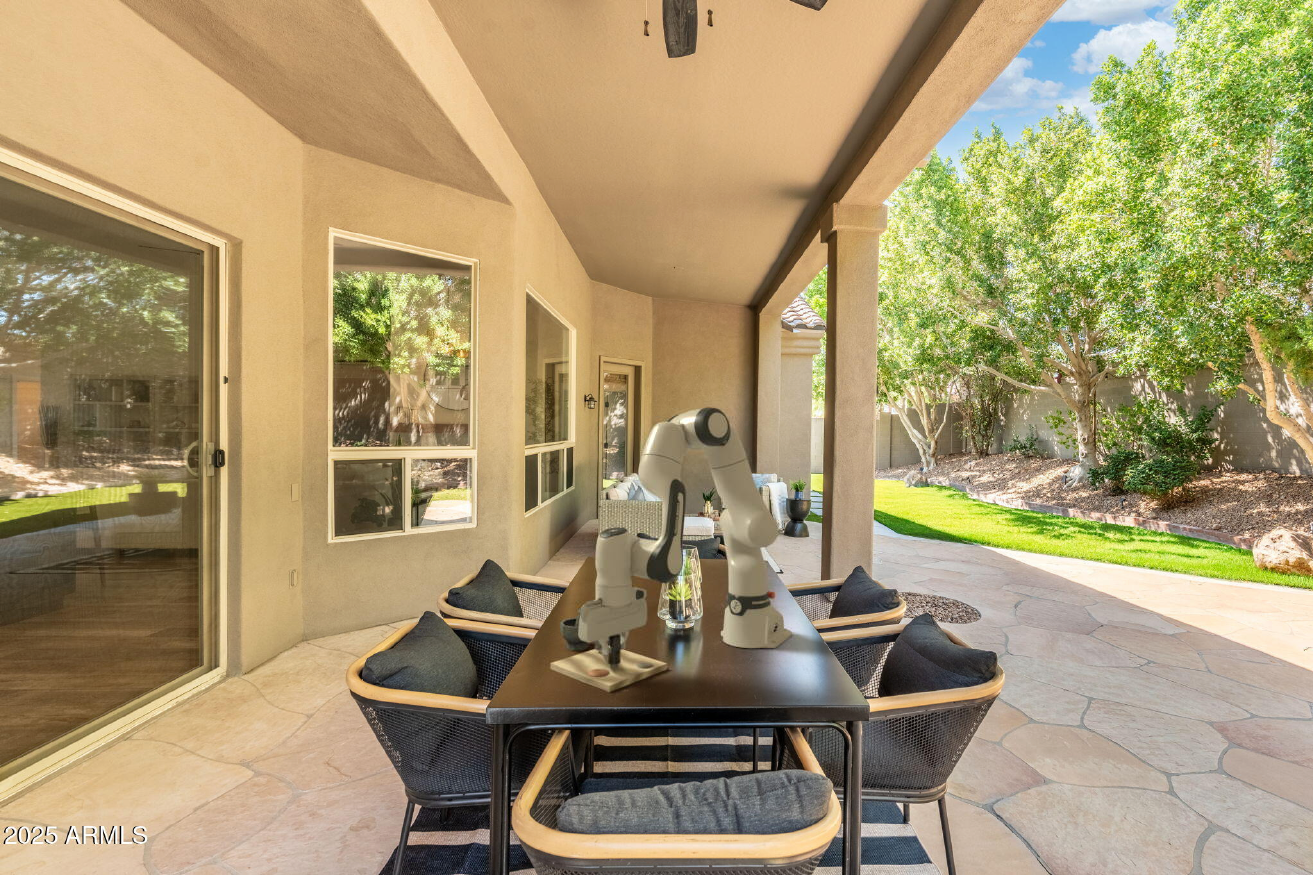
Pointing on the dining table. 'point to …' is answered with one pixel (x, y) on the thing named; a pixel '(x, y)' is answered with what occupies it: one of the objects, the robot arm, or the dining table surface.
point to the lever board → (608, 669)
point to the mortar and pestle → (572, 633)
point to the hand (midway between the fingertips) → (613, 651)
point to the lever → (612, 650)
